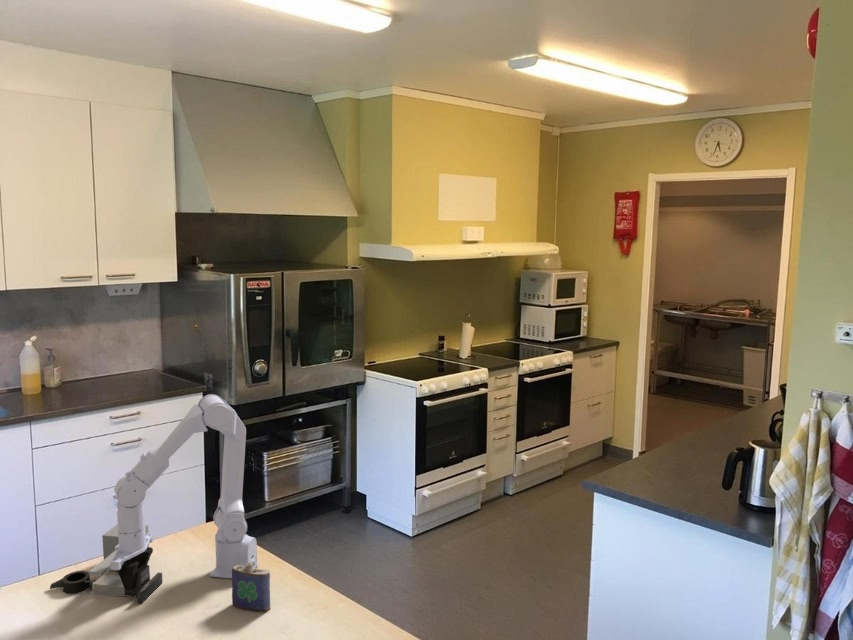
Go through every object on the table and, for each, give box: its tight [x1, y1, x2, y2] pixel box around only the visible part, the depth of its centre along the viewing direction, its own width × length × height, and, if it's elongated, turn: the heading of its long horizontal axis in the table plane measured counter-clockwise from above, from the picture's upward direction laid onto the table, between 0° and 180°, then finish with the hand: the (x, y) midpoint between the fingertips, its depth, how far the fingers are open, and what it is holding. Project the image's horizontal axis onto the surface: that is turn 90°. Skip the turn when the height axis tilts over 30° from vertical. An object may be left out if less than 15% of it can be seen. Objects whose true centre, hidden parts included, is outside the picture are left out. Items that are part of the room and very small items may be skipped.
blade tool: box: [91, 564, 163, 605], centre depth 159 cm, size 14×9×6 cm, turn 82°
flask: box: [231, 561, 271, 613], centre depth 153 cm, size 9×3×11 cm, turn 74°
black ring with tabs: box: [49, 570, 99, 595], centre depth 161 cm, size 8×10×3 cm
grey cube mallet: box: [88, 523, 151, 577], centre depth 165 cm, size 8×20×9 cm, turn 172°
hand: (134, 584), depth 159 cm, fingers closed on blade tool, 3 cm apart
